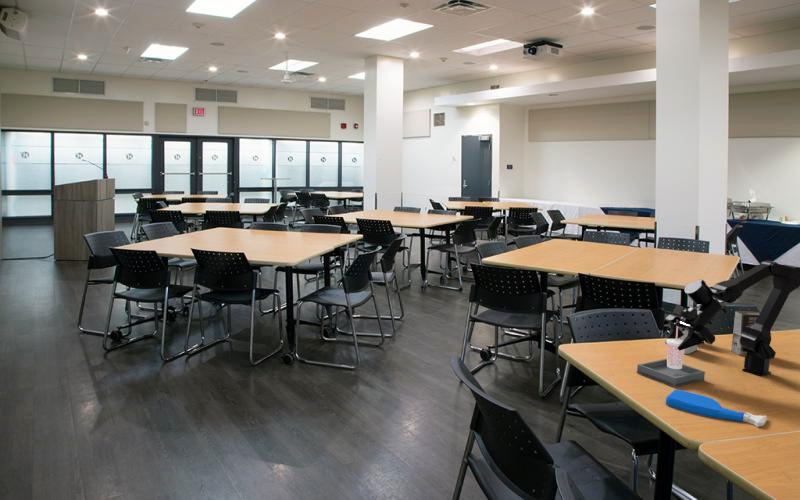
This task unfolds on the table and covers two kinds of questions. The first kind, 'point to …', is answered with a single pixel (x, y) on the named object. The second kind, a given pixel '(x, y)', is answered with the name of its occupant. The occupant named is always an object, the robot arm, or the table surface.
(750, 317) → the coffee box
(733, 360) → the table surface
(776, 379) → the table surface
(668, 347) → the beverage cup
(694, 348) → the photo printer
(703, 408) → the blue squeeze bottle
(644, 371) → the tray
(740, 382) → the table surface
